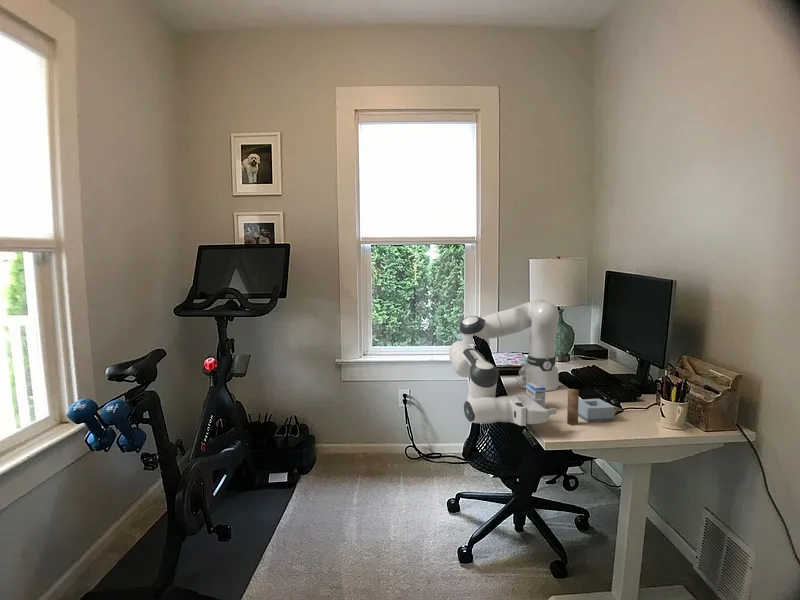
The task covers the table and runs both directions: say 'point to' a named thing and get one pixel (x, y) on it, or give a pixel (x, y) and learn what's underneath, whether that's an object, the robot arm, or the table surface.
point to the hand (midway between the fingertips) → (549, 406)
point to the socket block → (595, 410)
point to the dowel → (572, 407)
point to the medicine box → (535, 391)
